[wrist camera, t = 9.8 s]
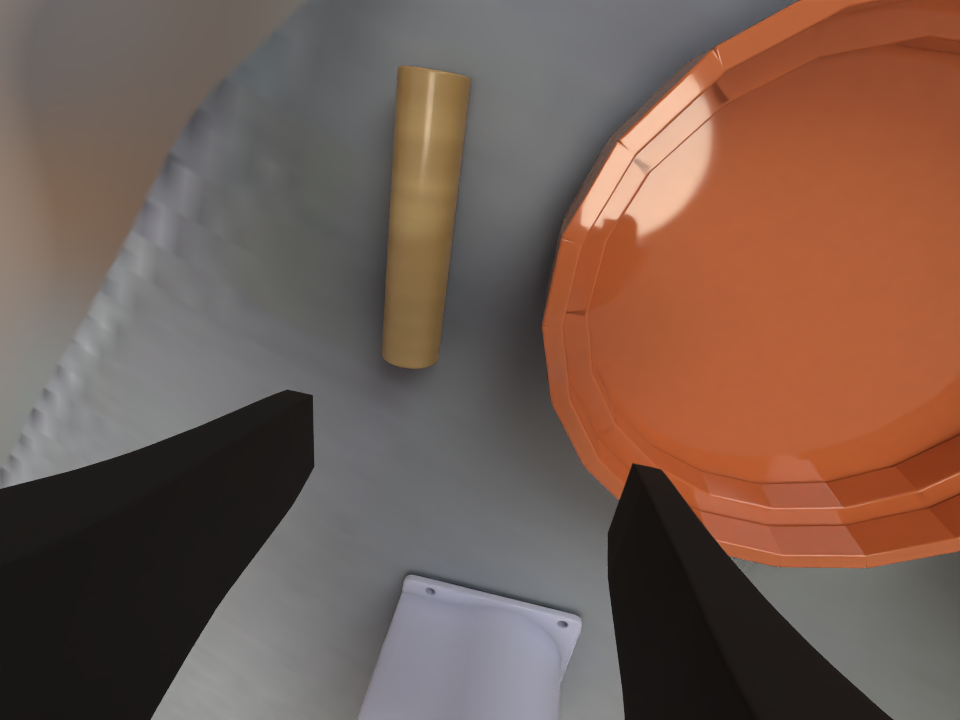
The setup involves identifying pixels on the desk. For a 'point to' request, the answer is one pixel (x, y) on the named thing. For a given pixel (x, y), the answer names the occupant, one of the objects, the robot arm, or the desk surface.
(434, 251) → the cylinder
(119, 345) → the desk surface
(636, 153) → the bowl
